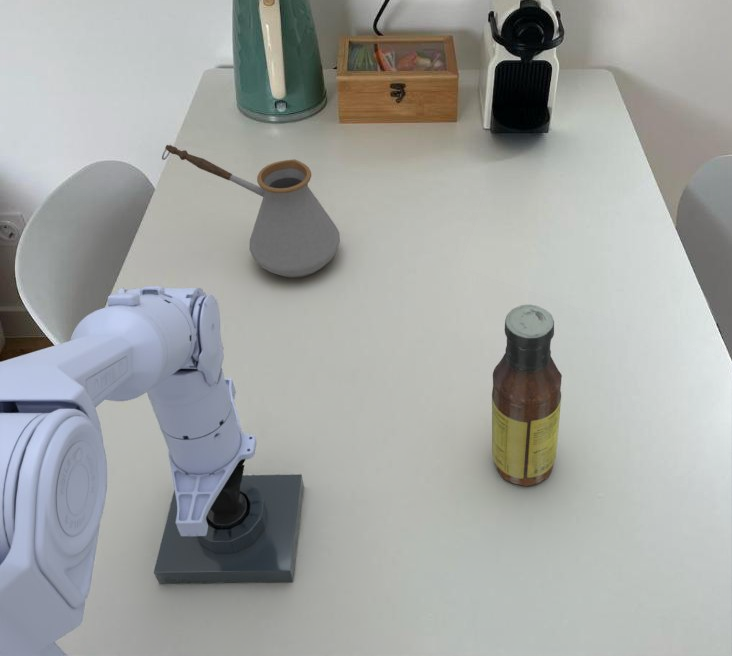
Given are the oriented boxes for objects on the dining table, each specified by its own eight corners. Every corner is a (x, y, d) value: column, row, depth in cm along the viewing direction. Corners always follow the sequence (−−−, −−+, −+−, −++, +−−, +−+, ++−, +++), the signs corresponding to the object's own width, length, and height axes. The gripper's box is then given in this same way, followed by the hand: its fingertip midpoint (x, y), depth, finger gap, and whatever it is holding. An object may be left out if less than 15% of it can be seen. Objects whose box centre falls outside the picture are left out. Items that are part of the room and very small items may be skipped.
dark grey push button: (252, 502, 75) (249, 489, 74) (247, 537, 73) (243, 524, 71) (214, 503, 75) (210, 490, 74) (207, 537, 73) (202, 525, 71)
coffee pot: (353, 237, 107) (344, 139, 97) (324, 294, 99) (310, 194, 89) (207, 215, 112) (183, 120, 102) (168, 268, 104) (137, 170, 94)
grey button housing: (304, 486, 79) (299, 461, 76) (293, 582, 72) (287, 559, 69) (182, 488, 79) (172, 463, 77) (158, 584, 72) (147, 560, 69)
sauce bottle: (553, 439, 82) (574, 295, 69) (555, 491, 78) (578, 348, 64) (488, 435, 83) (496, 292, 69) (487, 487, 78) (495, 345, 65)
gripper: (230, 488, 58) (259, 582, 67) (258, 342, 69) (280, 440, 78) (132, 490, 58) (175, 583, 67) (175, 344, 69) (207, 442, 78)
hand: (226, 507), depth 73 cm, fingers closed, pressing on dark grey push button
